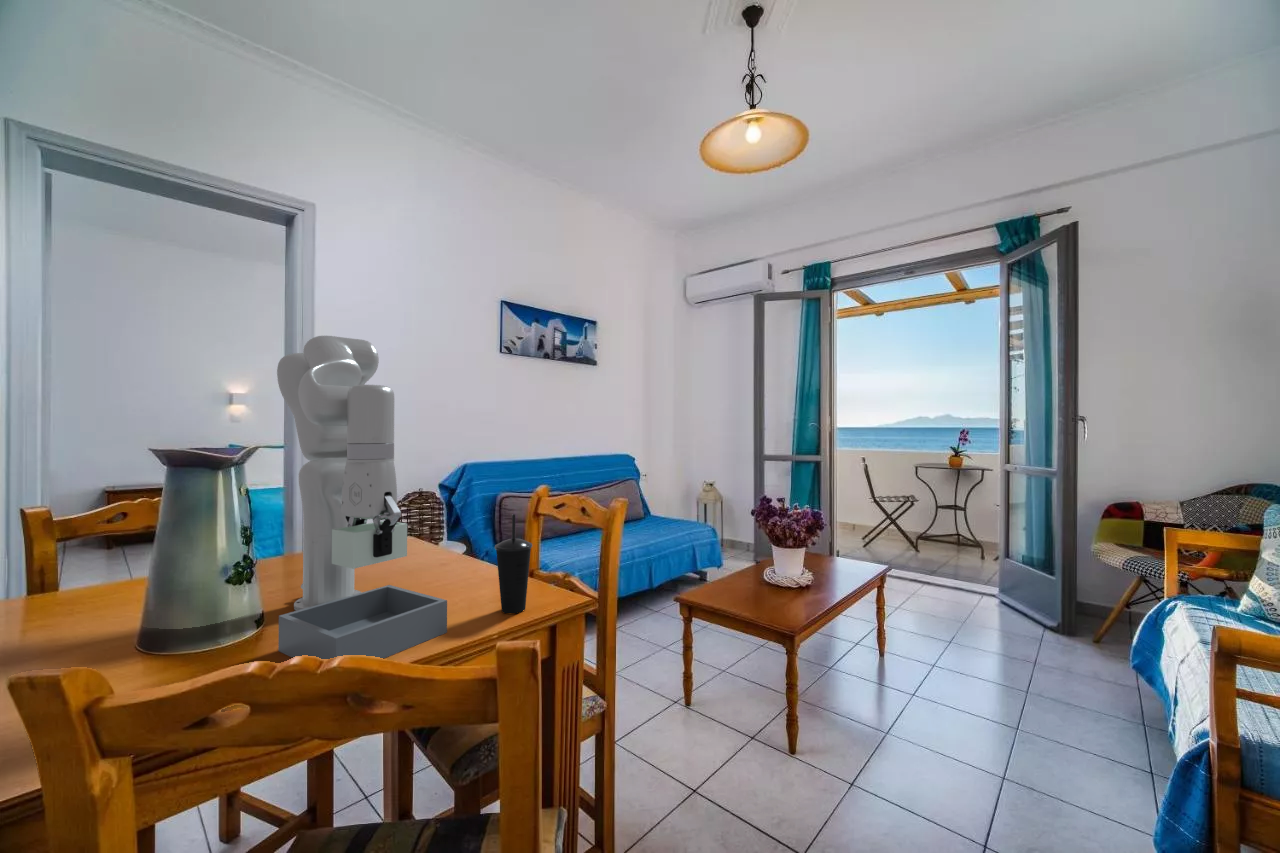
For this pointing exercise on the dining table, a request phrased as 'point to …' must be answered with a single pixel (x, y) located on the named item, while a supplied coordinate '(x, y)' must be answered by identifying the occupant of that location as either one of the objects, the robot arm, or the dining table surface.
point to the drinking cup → (513, 572)
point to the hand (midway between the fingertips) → (370, 552)
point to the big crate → (363, 624)
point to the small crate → (364, 545)
